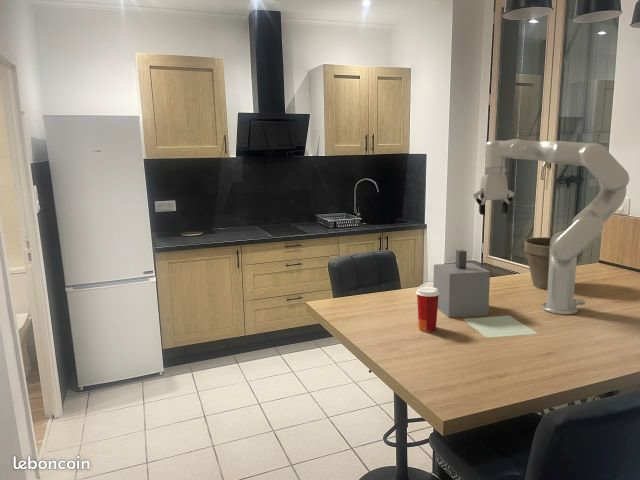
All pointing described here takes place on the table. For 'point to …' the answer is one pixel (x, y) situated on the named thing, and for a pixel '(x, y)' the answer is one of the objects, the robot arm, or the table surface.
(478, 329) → the mat
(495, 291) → the table surface
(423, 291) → the coffee cup
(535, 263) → the plant pot
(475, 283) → the grey knobbed cube
